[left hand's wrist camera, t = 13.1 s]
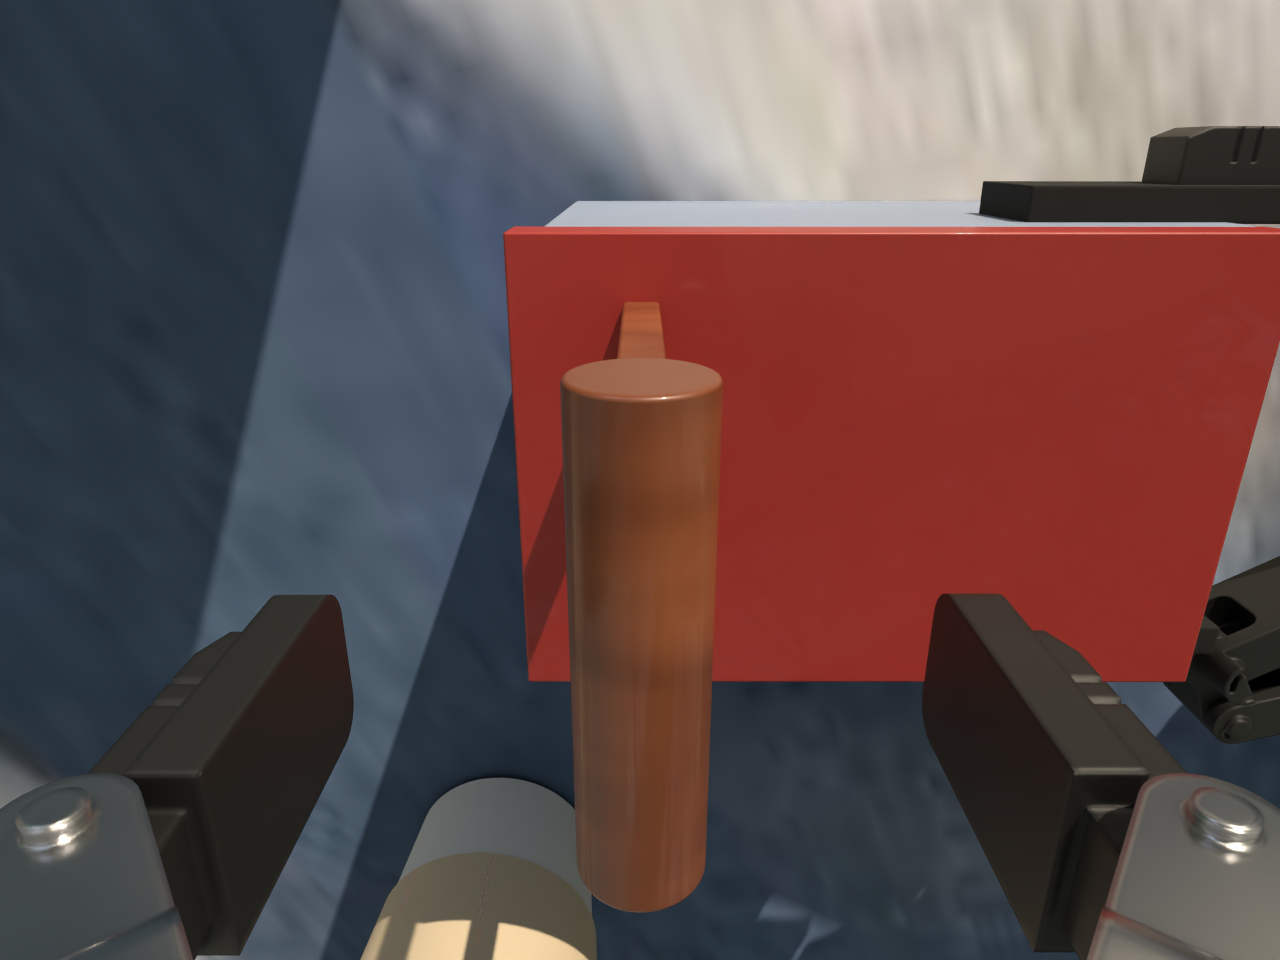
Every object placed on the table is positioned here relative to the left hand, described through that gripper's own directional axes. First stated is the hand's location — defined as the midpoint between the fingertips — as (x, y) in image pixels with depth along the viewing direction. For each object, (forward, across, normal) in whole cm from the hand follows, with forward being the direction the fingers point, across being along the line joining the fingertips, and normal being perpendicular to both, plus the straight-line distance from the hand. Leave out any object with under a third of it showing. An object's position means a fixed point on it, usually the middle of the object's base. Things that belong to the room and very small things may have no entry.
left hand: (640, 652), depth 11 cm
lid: (+8, +5, 0) cm, 9 cm away
